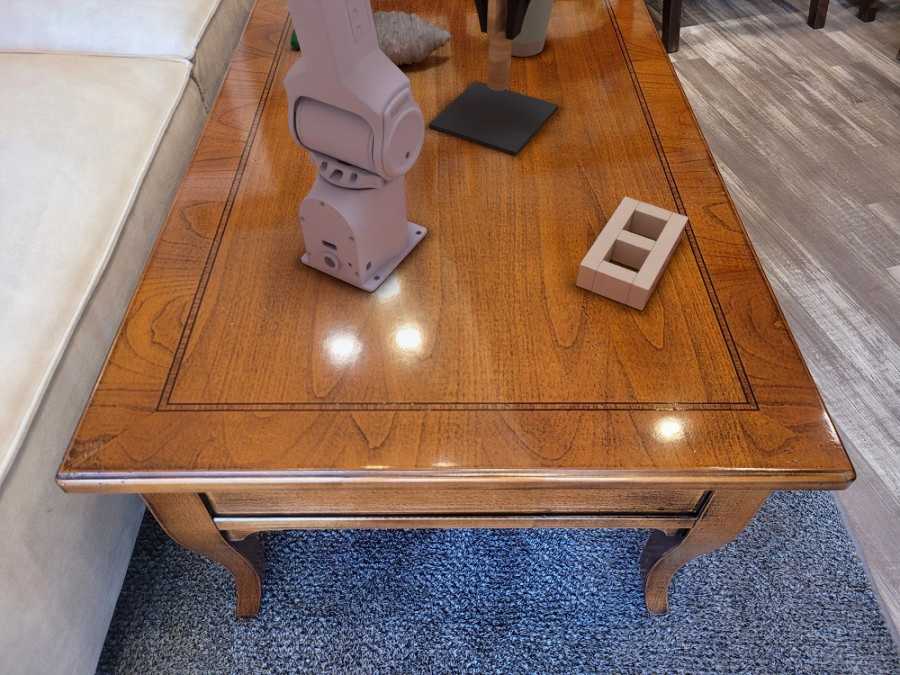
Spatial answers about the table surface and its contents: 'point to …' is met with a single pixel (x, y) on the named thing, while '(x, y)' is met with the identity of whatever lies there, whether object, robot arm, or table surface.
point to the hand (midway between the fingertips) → (501, 32)
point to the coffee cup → (533, 29)
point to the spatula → (498, 46)
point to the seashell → (407, 36)
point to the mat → (494, 117)
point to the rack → (631, 252)
